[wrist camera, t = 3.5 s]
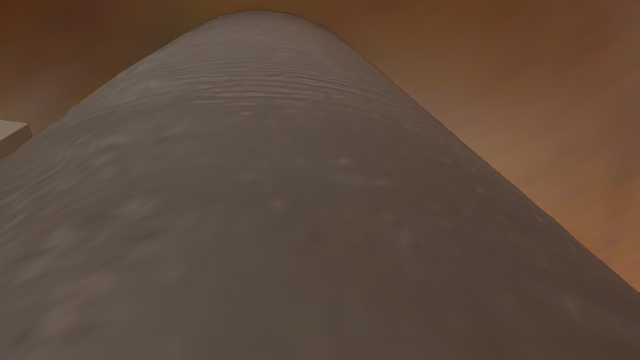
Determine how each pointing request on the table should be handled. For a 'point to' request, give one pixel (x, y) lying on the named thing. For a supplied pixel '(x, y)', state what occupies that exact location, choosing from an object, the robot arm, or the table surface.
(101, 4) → the table surface
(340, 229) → the pillar candle
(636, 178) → the table surface
